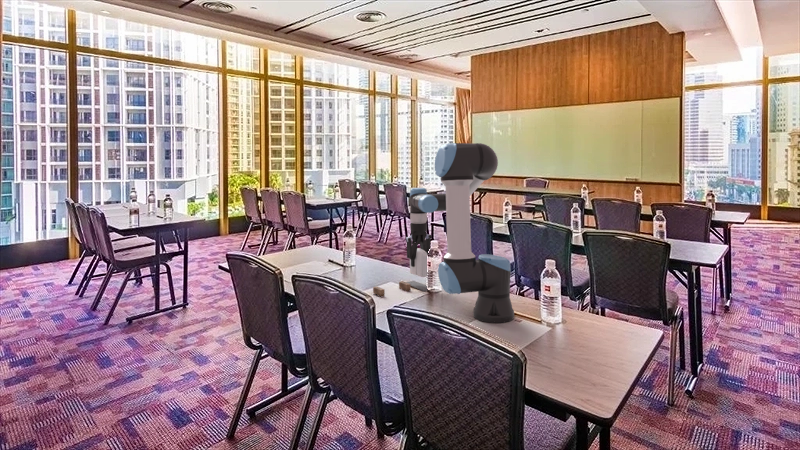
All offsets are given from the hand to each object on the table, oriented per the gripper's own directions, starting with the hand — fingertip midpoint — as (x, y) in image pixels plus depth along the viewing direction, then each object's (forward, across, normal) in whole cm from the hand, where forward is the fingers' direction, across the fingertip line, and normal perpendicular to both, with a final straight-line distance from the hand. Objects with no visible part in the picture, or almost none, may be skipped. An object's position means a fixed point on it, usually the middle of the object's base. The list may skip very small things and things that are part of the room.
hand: (418, 272), depth 229 cm
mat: (+7, 0, 0) cm, 7 cm away
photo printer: (+1, 0, 0) cm, 1 cm away
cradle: (+7, +15, 0) cm, 16 cm away
